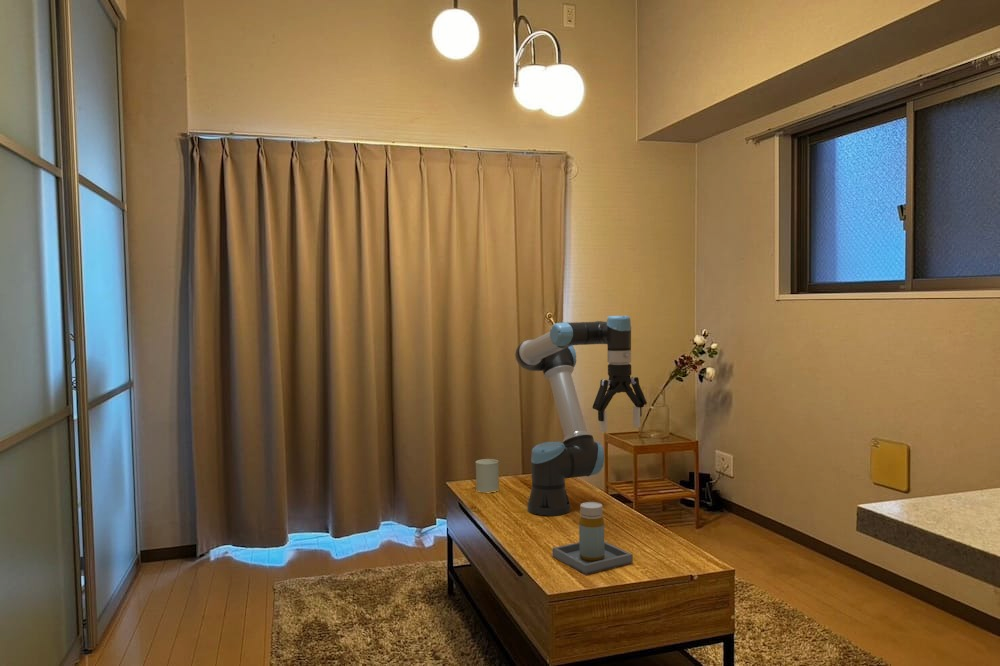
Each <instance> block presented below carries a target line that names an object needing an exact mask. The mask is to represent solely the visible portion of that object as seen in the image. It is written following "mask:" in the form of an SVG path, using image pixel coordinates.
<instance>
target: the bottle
mask: <svg viewBox="0 0 1000 666" xmlns="http://www.w3.org/2000/svg"><path fill="white" fill-rule="evenodd" d="M579 507H580V509H579V510H580V513H579V514H580V518H579V521H578V535H579V538H578V540H579V541H578V542H579V548H580V557H581V558H582V559H583V560H586V561H592V562H595V561H600V560H602V559H603V558H604V554H605V549H604V541H605V520H604V517H603V516H604V515H603V504H602V503H600V502H595V501H587V502H583V503H580V506H579Z"/></svg>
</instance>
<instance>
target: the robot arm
mask: <svg viewBox="0 0 1000 666" xmlns="http://www.w3.org/2000/svg"><path fill="white" fill-rule="evenodd" d="M606 320H607V321H603V320H600V321H599V320H597V321H582V322H576V321H575V322H564V321H562V322H556V323H553V325H551V328H550V330H549V331H548V332H546V333H544V334H542V335H539V336H538V337H537V338H534V339H527V340H524V341H523V342H521V343H520V344H519V345H518V346H517V347H516V350H515V360H516V362H517V364H518V365H519V366H520V367H521V368H523V369H524V370H527V371H531V372H541V371H542V373H543V376H544V378H545V379H547V380H549V384H550V388H551V391H552V392H551V393H552V396H553V399H554V402H555V407H556V410H557V415H558V419H559V422H560V427H561V429H562V433H563V437H564V438H563V440H562V441H556V440H555V441H546V442H541V443H539V444H538V443H537V444H536V445H535V446H534V447H532V449H531V455H530V457H531V458H530V462H531V463H530V464H531V490H530V494H529V496H528V497H529V498H528V501H527V508H526V509H527V512H529V511H530V512H532V513H531V514H533V513H534V515H536V514H539V515H538V516H543V515H546V516H547V517H549V516H550V517H552V516H553V517H554V516H555V517H556V516H560V515H564V514H567V513H569V512H570V511H571V502H570V499H569V496H568V493H567V490H566V479H573V478H582V477H590V476H594V475H598V474H599V473H600V472H601V471H602V469H603V468H604V464H605V451H604V448H603V445H602V444H601V443H600V442H598V441H595V440H594V435H593V434H592V433H589V432H588V430H587V426H586V423H585V420H584V415H583V412H582V409H581V405H580V402H579V398H578V394H577V391H576V386H575V382H574V380H573V377H572V374H573V372H574V371H575V369H574V368H575V367H576V364H577V352H576V350H575V348H574V346H584V345H585V346H586V345H587V346H588V345H607V363H608V365H607V375H608V379H600V381H599V383H600V385H599V388H598V391H597V394H596V395H595V398H594V401H593V405H592V409H593V410H596V411H597V421H598V422H599V431H601V432H603V433H607V432H608V411H607V410H606V409H607V407H608V405H609V404H610V402H611V401H612V399H613V398H614V396H615V395H616V394H620V393H625V394H626V395H627V396H628V398H629V399H630V401H631V402H632V403H633V404H634V406H632V427H633V428H634V427H635V428H641V417H642V414H643V413H642V412H643V410H642V409H643V408H644V407H645V405H647V399H646V398H645V394H644V392H643V390H642V388H641V385H640V381H639V379H640V378H639V377H636V376H632V364H631V362H632V326H631V325H632V323H631V318H630V316H629V315H609V316H607V318H606ZM631 376H632V377H631ZM530 512H529V513H530ZM546 516H545V517H546Z"/></svg>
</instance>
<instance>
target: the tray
mask: <svg viewBox="0 0 1000 666" xmlns="http://www.w3.org/2000/svg"><path fill="white" fill-rule="evenodd" d="M604 549H605V554H604V558H603V559H602V560H600V561H595V562H592V561H586V560H583V559H582V558H581V557H580V548H579V541H578V542H574V543H569V544H563V545H560V546H556V547H552V558H554V559H556V560H558V561H559V562H562V563H563V564H565V565H567V566H568V567H571V568H573V570H576V571H578V572H580V573H581V574H583V575H585V576H587V575H592V574H596V573H598V572H603V571H607V570H610V569H611V570H612V569H615V567H616V568H619V567H623V565H624V566H627V564H628V565H631V564H630V563H632V564H634V563H633V558H634V557H633V553H631V552H628V551H626V550H625V549H622V548H619V547H618V546H615V545H613V544H611V543H609V542H606V541H605V540H604Z"/></svg>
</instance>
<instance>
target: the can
mask: <svg viewBox="0 0 1000 666" xmlns="http://www.w3.org/2000/svg"><path fill="white" fill-rule="evenodd" d="M499 475H500V473H499V460H498V459H493V458H484V459H482V458H481V459H478V460H476V461H475V479H476V480H475V491H476V490H477V491H480V492H491V491H496V490H498V489H499V490H500V485H499V483H500V482H499V478H500V477H499ZM477 491H476V492H477Z"/></svg>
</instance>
